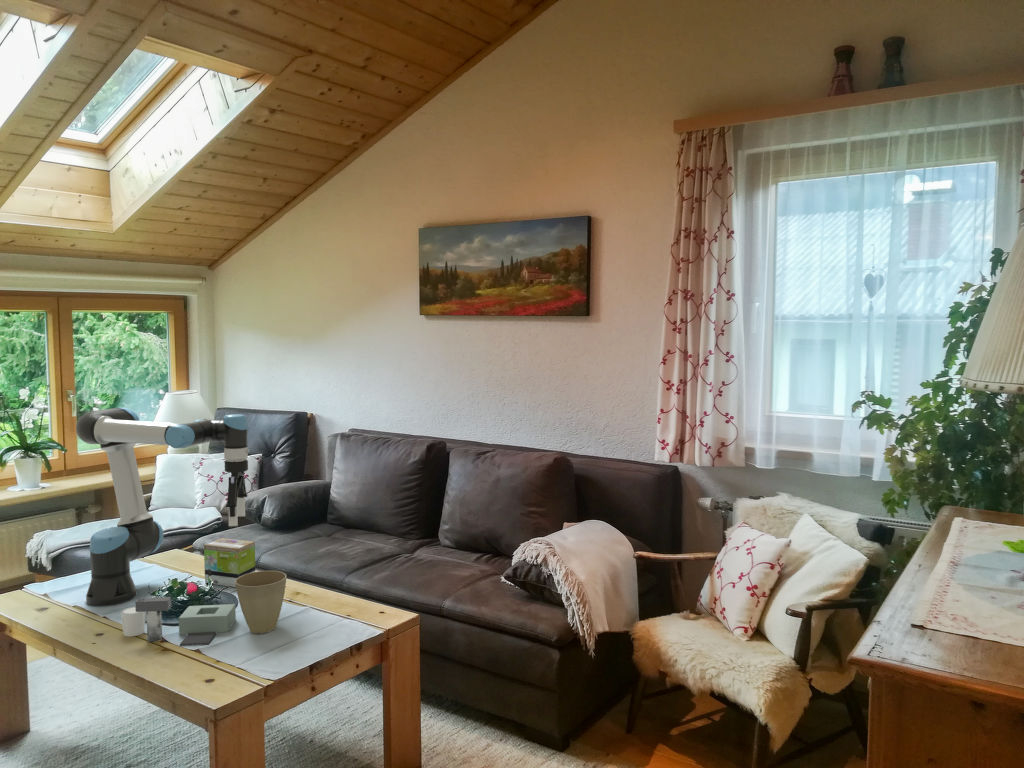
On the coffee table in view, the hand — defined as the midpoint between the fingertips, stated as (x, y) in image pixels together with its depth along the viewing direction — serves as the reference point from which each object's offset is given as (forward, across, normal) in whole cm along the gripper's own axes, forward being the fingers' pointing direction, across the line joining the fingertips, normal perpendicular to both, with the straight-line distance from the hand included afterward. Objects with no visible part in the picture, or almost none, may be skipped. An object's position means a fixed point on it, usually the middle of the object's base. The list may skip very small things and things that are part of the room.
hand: (237, 520), depth 258 cm
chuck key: (+26, -36, +17) cm, 47 cm away
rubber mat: (+26, -38, +4) cm, 46 cm away
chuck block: (+26, -28, +4) cm, 39 cm away
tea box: (+26, +15, +6) cm, 31 cm away
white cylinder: (+26, -30, +25) cm, 47 cm away
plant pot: (+26, -33, -13) cm, 44 cm away
